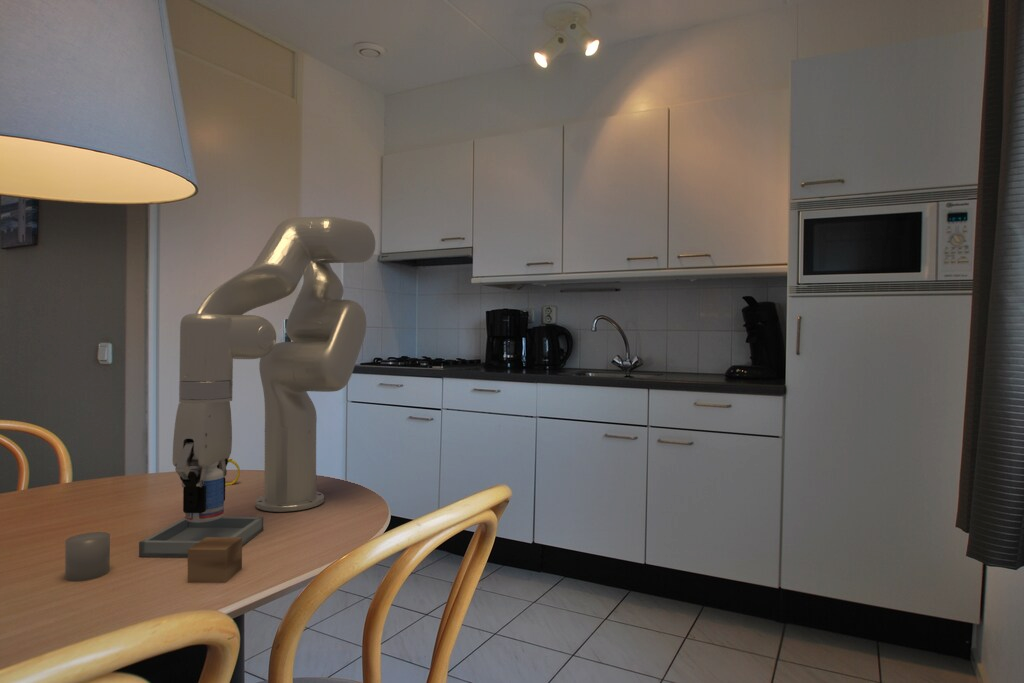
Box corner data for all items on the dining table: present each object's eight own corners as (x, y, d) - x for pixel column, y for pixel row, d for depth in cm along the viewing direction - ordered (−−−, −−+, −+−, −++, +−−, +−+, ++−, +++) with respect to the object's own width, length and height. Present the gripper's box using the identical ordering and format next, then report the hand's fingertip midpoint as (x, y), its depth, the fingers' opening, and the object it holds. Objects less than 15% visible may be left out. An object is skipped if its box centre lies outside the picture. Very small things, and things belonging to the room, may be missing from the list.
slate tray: (186, 529, 103) (186, 516, 103) (263, 530, 103) (263, 517, 103) (138, 557, 90) (139, 542, 90) (227, 557, 90) (227, 543, 90)
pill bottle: (229, 513, 99) (230, 453, 99) (214, 523, 94) (215, 459, 94) (195, 513, 99) (195, 453, 99) (178, 523, 93) (178, 459, 93)
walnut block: (206, 569, 86) (206, 537, 86) (241, 569, 86) (242, 537, 86) (187, 583, 81) (187, 549, 81) (225, 583, 81) (225, 549, 81)
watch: (238, 483, 137) (241, 457, 137) (238, 486, 134) (241, 459, 134) (209, 484, 134) (211, 457, 135) (208, 487, 132) (210, 459, 132)
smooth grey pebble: (82, 567, 86) (82, 531, 86) (117, 567, 86) (118, 532, 86) (55, 581, 81) (56, 543, 81) (93, 581, 81) (94, 544, 81)
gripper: (209, 388, 105) (208, 493, 105) (150, 396, 88) (148, 522, 88) (253, 388, 105) (251, 494, 105) (202, 396, 88) (200, 523, 88)
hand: (204, 505), depth 96 cm, fingers closed on pill bottle, 5 cm apart
